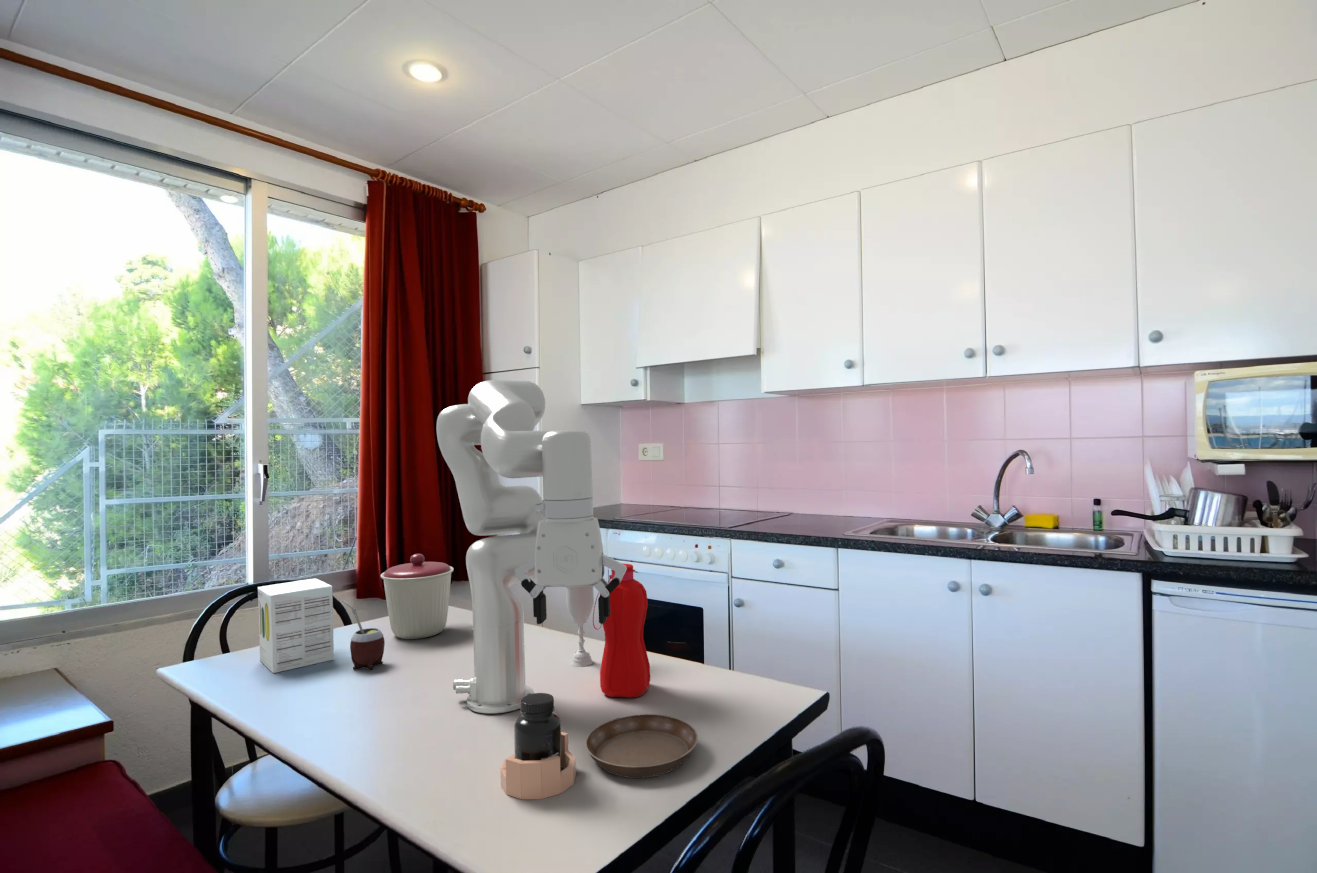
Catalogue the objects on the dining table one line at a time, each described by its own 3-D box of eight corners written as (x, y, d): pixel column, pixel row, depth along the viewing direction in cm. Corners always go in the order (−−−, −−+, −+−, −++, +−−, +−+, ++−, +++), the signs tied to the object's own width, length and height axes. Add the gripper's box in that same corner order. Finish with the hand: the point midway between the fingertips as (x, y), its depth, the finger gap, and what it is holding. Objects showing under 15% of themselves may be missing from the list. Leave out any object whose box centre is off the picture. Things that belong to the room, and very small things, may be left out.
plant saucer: (607, 797, 94) (607, 775, 94) (572, 745, 110) (571, 726, 110) (718, 769, 101) (718, 748, 101) (669, 723, 117) (669, 706, 117)
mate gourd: (388, 667, 150) (386, 600, 150) (349, 675, 145) (348, 606, 146) (380, 658, 156) (378, 594, 156) (343, 666, 152) (342, 600, 152)
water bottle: (601, 680, 138) (598, 559, 138) (653, 683, 136) (649, 560, 136) (587, 698, 129) (584, 568, 129) (643, 701, 127) (639, 569, 127)
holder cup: (493, 800, 93) (492, 764, 93) (511, 763, 104) (510, 730, 104) (569, 798, 93) (568, 762, 93) (579, 761, 104) (578, 729, 104)
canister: (367, 643, 168) (365, 560, 168) (406, 623, 186) (404, 548, 186) (434, 645, 165) (431, 560, 165) (467, 624, 183) (464, 548, 183)
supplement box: (258, 660, 157) (256, 586, 157) (318, 647, 166) (316, 577, 166) (272, 674, 148) (269, 595, 148) (335, 659, 156) (333, 585, 156)
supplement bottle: (552, 794, 94) (550, 709, 94) (507, 790, 96) (505, 706, 96) (568, 770, 101) (566, 690, 101) (526, 766, 102) (524, 688, 102)
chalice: (604, 660, 150) (601, 580, 150) (585, 670, 145) (582, 587, 145) (578, 655, 154) (576, 577, 154) (559, 664, 148) (556, 583, 148)
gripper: (506, 514, 100) (509, 629, 100) (620, 511, 98) (624, 628, 98) (521, 509, 107) (524, 615, 107) (627, 506, 106) (631, 615, 105)
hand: (572, 621), depth 103 cm, fingers open, 9 cm apart
